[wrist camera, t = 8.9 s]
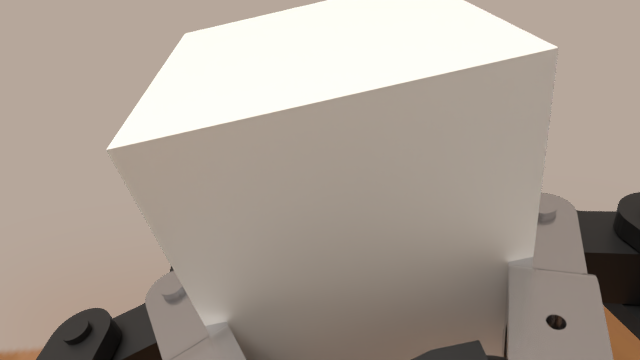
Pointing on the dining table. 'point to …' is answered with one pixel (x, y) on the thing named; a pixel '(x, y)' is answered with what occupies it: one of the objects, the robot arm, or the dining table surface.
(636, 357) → the dining table surface
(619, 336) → the dining table surface
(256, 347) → the milk carton
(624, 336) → the dining table surface
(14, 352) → the dining table surface
